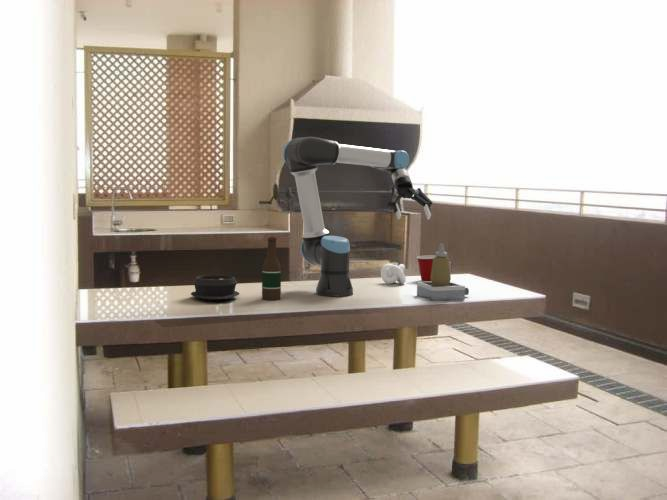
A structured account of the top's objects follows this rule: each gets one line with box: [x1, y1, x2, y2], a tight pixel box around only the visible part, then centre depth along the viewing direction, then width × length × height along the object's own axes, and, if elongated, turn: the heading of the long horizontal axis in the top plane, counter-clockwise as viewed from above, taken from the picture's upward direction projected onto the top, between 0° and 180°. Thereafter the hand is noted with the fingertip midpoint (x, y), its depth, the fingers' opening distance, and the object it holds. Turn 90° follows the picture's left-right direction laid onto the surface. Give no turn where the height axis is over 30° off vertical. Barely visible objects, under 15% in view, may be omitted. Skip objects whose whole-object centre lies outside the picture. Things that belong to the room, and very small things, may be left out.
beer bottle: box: [261, 236, 282, 301], centre depth 261 cm, size 8×8×24 cm
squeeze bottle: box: [431, 242, 452, 286], centre depth 273 cm, size 8×8×18 cm
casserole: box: [190, 274, 240, 302], centre depth 260 cm, size 25×19×8 cm
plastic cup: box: [415, 254, 437, 282], centre depth 324 cm, size 11×11×12 cm
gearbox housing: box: [416, 281, 470, 302], centre depth 274 cm, size 19×15×6 cm
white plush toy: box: [380, 263, 407, 285], centre depth 312 cm, size 11×12×9 cm
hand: (414, 217), depth 285 cm, fingers open, 13 cm apart
